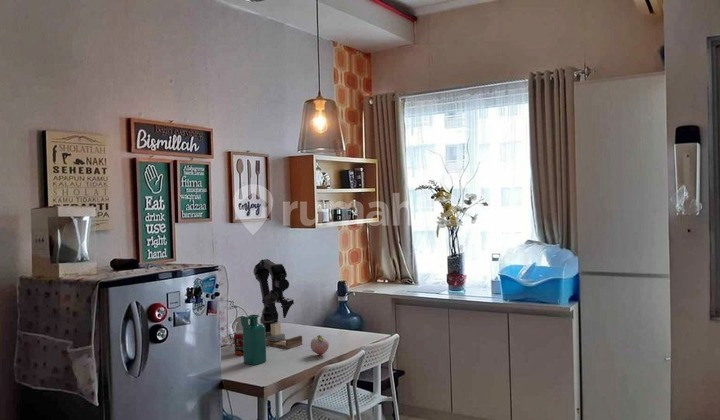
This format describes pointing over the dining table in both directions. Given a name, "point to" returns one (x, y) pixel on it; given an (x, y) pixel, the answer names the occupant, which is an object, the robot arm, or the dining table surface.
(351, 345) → the dining table surface
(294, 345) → the base
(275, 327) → the handle
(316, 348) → the decorative fruit
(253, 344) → the pitcher
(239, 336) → the canned food
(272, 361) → the dining table surface
